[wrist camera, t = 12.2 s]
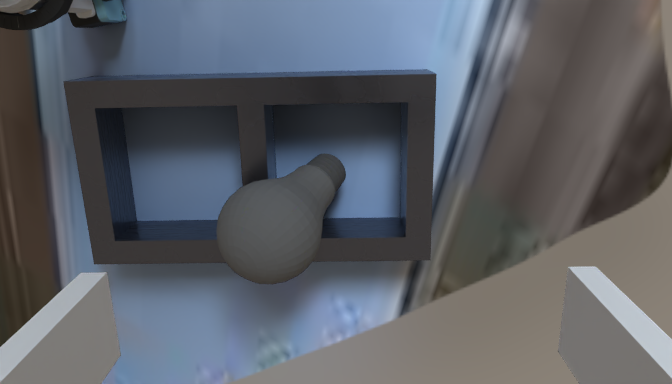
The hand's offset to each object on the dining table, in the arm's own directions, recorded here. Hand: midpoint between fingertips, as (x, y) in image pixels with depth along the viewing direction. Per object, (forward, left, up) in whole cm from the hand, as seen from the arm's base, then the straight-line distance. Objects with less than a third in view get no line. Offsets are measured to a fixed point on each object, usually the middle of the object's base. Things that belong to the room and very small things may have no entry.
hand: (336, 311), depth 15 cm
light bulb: (0, 0, -19) cm, 19 cm away
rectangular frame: (0, -5, -19) cm, 20 cm away
